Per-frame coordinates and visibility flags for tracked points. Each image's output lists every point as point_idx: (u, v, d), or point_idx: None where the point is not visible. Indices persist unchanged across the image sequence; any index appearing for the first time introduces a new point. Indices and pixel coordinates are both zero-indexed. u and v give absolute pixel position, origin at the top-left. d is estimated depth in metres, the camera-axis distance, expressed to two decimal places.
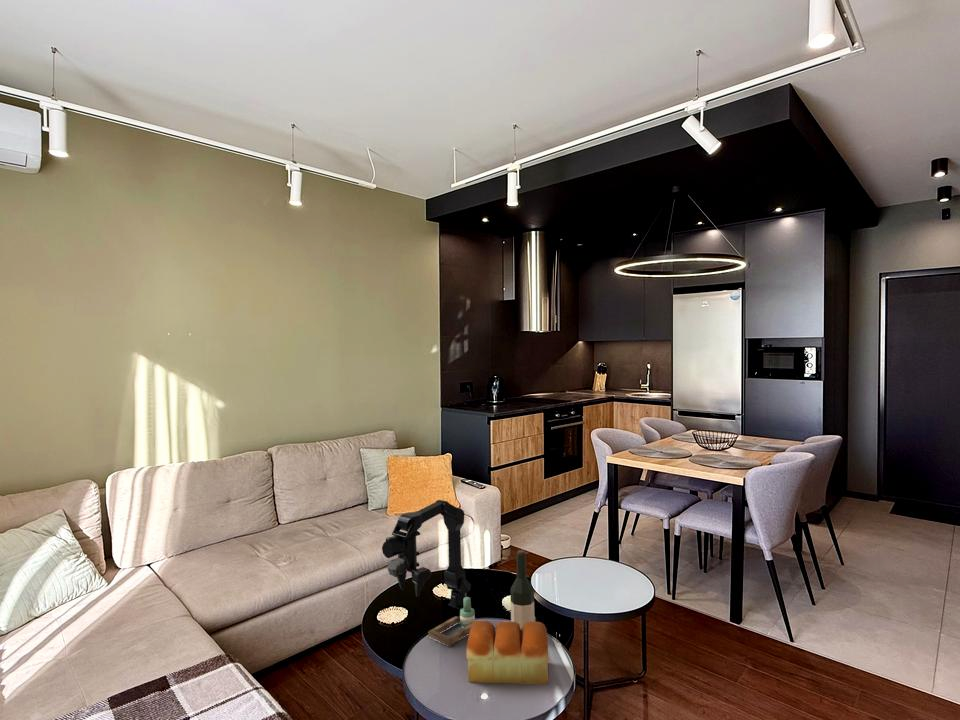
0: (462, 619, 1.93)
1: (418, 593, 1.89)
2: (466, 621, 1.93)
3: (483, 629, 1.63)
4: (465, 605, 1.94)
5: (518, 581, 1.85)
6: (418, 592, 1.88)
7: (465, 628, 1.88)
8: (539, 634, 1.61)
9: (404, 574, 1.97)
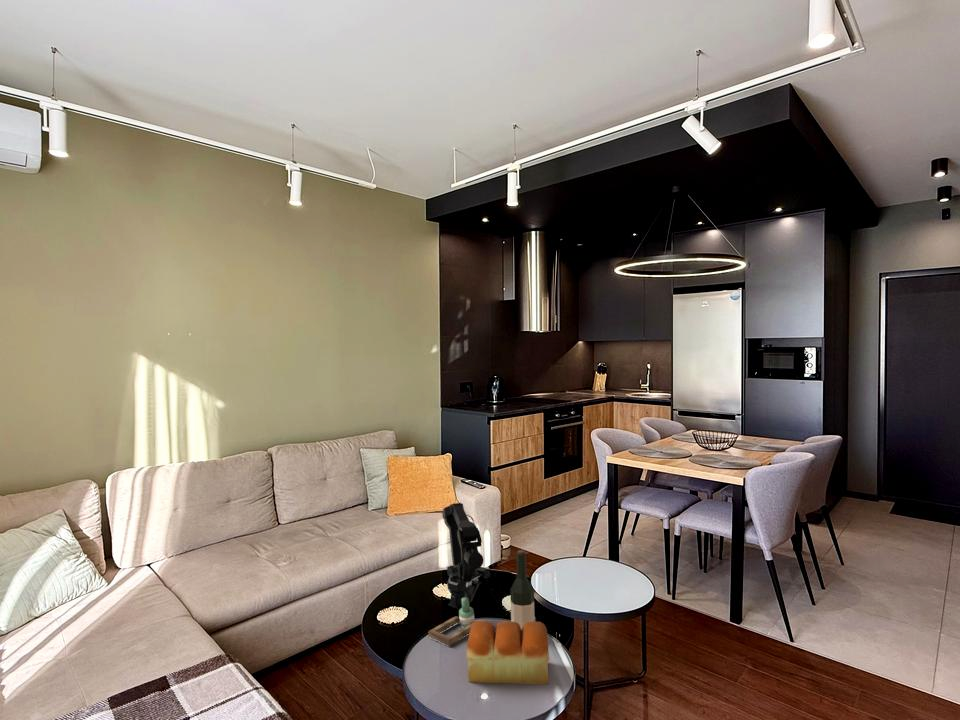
0: (461, 619, 1.93)
1: None
2: (465, 621, 1.92)
3: (483, 629, 1.63)
4: (464, 605, 1.93)
5: (518, 581, 1.85)
6: None
7: (465, 628, 1.88)
8: (539, 634, 1.61)
9: None
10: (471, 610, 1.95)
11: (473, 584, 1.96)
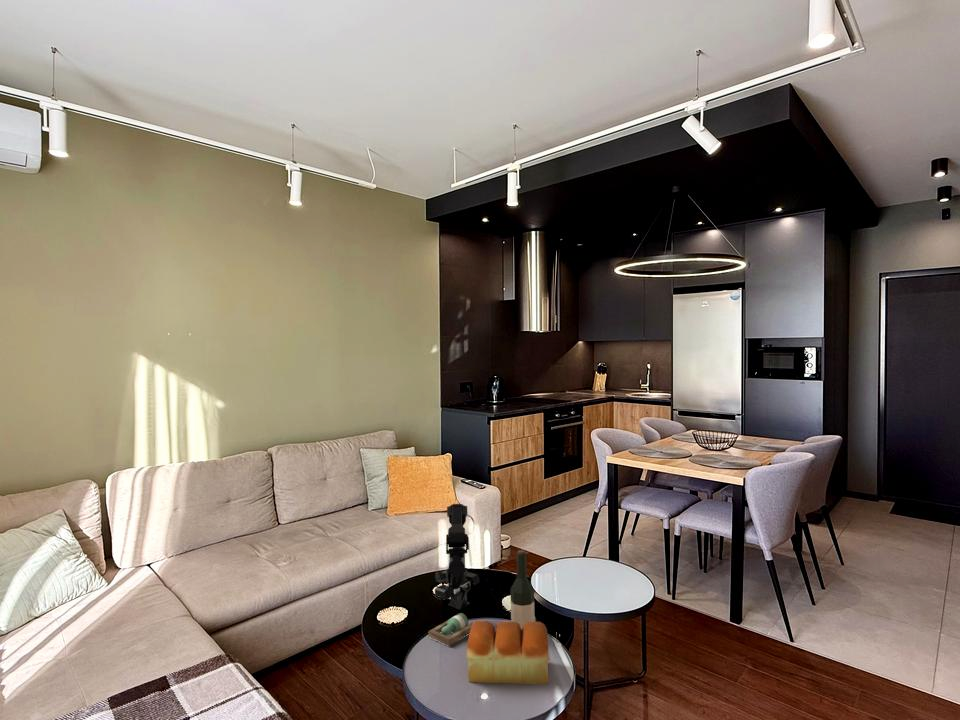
0: None
1: (456, 606, 1.91)
2: None
3: (483, 629, 1.63)
4: None
5: (518, 581, 1.85)
6: (456, 605, 1.91)
7: (465, 628, 1.88)
8: (539, 634, 1.61)
9: None
10: (456, 624, 1.88)
11: (462, 591, 1.92)
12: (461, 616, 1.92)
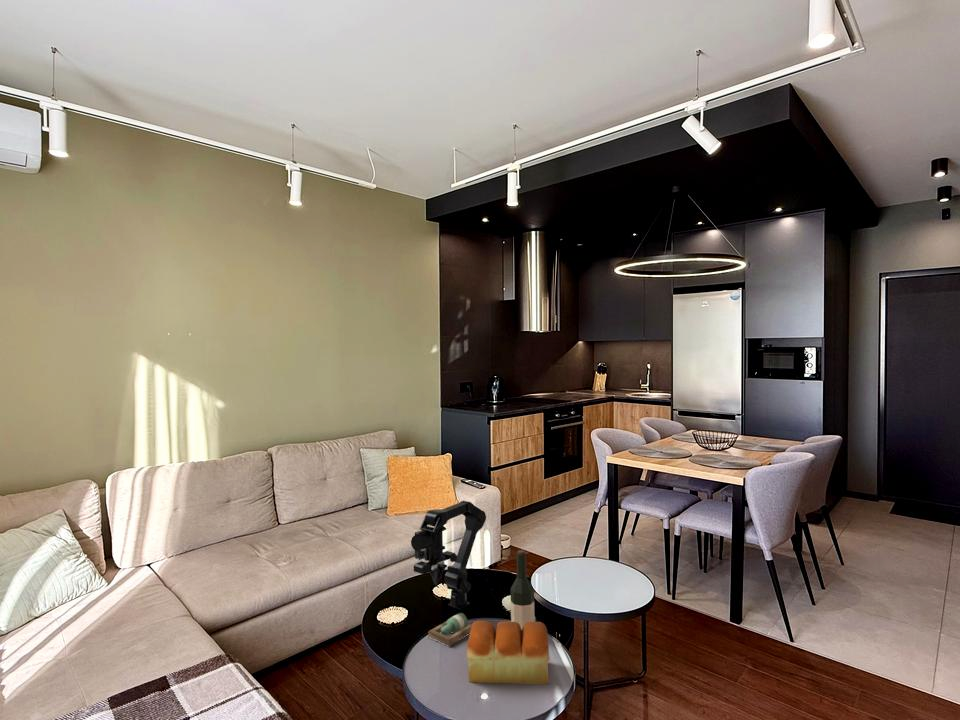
0: None
1: (434, 582, 2.02)
2: None
3: (483, 629, 1.63)
4: None
5: (518, 581, 1.85)
6: (434, 581, 2.03)
7: (465, 628, 1.88)
8: (539, 634, 1.61)
9: (439, 572, 2.03)
10: (454, 623, 1.88)
11: (439, 567, 2.03)
12: (459, 615, 1.92)
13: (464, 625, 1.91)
